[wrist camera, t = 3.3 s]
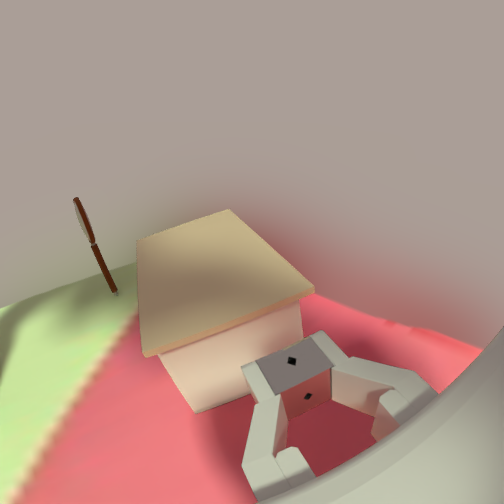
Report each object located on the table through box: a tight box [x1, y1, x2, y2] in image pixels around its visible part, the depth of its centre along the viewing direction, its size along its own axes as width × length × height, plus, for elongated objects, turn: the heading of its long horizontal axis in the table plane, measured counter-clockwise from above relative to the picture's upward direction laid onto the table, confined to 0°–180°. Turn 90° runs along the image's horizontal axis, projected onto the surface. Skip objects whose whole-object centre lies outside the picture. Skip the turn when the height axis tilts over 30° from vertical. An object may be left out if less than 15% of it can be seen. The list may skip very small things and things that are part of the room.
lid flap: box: [137, 209, 315, 358], centre depth 30 cm, size 14×22×1 cm, turn 21°
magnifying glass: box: [73, 197, 118, 296], centre depth 46 cm, size 9×2×20 cm, turn 41°
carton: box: [157, 300, 304, 414], centre depth 34 cm, size 13×20×12 cm, turn 21°
